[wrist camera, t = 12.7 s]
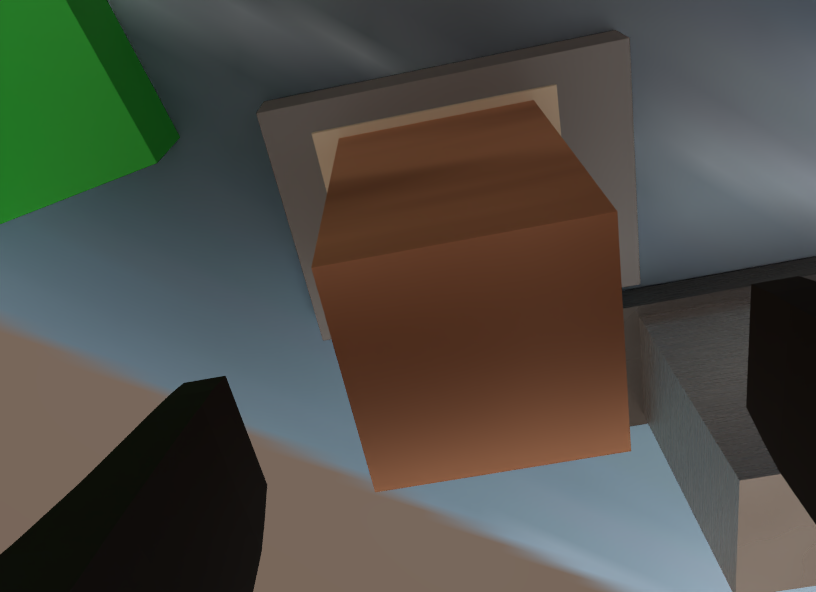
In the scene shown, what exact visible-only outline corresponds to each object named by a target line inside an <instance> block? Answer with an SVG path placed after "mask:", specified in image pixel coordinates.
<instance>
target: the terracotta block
mask: <svg viewBox="0 0 816 592" xmlns="http://www.w3.org/2000/svg"><path fill="white" fill-rule="evenodd" d="M311 269H312V272H313V276H314V279H315V283H316V286H317V290H318V293H319V297H320V300H321V304H322V307H323V311H324V314H325V318H326V321H327V325H328V328H329V332H330V335H331V339H332V342H333V346H334V349H335V353H336V356H337V360H338V363H339V367H340V370H341V374H342V377H343V381H344V384H345V388H346V391H347V395H348V398H349V402H350V405H351V409H352V412H353V416H354V419H355V423H356V426H357V430H358V433H359V437H360V440H361V444H362V447H363V451H364V454H365V458H366V461H367V465H368V468H369V472H370V475H371V479H372V482H373V486H374V489H375V492H380V491H387V490H393V489H399V488H405V487H411V486H417V485H424V484H430V483H436V482H442V481H448V480H455V479H461V478H467V477H473V476H479V475H485V474H492V473H498V472H504V471H510V470H516V469H523V468H529V467H535V466H541V465H547V464H554V463H560V462H566V461H572V460H578V459H584V458H591V457H597V456H603V455H609V454H615V453H622V452H628V451H631V443H630V425H629V407H628V390H627V372H626V354H625V336H624V319H623V301H622V283H621V265H620V248H619V230H618V212H617V210H616V209H615V207H614V206H613V205H612V203H611V202H610V201H609V200H608V198H607V197H606V196H605V194H604V193H603V192H602V190H601V189H600V188H599V186H598V185H597V184H596V182H595V181H594V180H593V178H592V177H591V176H590V174H589V173H588V172H587V170H586V169H585V168H584V166H583V165H582V164H581V162H580V161H579V160H578V158H577V157H576V156H575V154H574V153H573V152H572V150H571V149H570V148H569V146H568V145H567V144H566V142H565V141H564V140H563V138H562V137H561V136H560V134H559V133H558V132H557V130H556V129H555V128H554V126H553V125H552V124H551V122H550V121H549V120H548V118H547V117H546V116H545V114H544V113H543V112H542V110H541V109H540V108H539V106H538V105H537V104H536V102H535V101H534V100H531V101H526V102H521V103H516V104H510V105H505V106H500V107H495V108H490V109H485V110H480V111H475V112H470V113H465V114H460V115H455V116H450V117H444V118H439V119H434V120H429V121H424V122H419V123H414V124H409V125H404V126H399V127H394V128H389V129H383V130H378V131H373V132H368V133H363V134H358V135H353V136H348V137H343V138H339V140H338V145H337V149H336V154H335V159H334V163H333V168H332V173H331V178H330V182H329V187H328V192H327V196H326V201H325V206H324V210H323V215H322V220H321V225H320V229H319V234H318V239H317V243H316V248H315V253H314V257H313V262H312V267H311Z"/></svg>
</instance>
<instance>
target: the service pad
mask: <svg viewBox="0 0 816 592" xmlns="http://www.w3.org/2000/svg"><path fill="white" fill-rule="evenodd" d="M531 100H534V101H535V102H536V104H537V105H538V106H539V108H540V109H541V110H542V112H543V113H544V114H545V116H546V117H547V118H548V120H549V121H550V122H551V124H552V125H553V126H554V128H555V129H556V130H557V132H558V133H559V134H560V136H561V137H562V138H563V140H564V141H565V142H566V144H567V145H568V146H569V148H570V149H571V150H572V152H573V153H574V154H575V156H576V157H577V158H578V160H579V161H580V162H581V164H582V165H583V166H584V168H585V169H586V170H587V172H588V173H589V174H590V176H591V177H592V178H593V180H594V181H595V182H596V184H597V185H598V186H599V188H600V189H601V190H602V192H603V193H604V194H605V196H606V197H607V198H608V200H609V201H610V202H611V203H612V205H613V206H614V207H615V209H616V210H617V212H618V230H619V248H620V265H621V283H622V287H627V286H632V285H638V284H640V266H639V243H638V220H637V197H636V174H635V151H634V128H633V105H632V82H631V59H630V38H629V37H627V36H625V35H623V34H621V33H620V32H618V31H616V30H614V31H609V32H604V33H599V34H594V35H589V36H584V37H579V38H574V39H569V40H564V41H560V42H555V43H550V44H545V45H540V46H535V47H530V48H525V49H520V50H515V51H510V52H505V53H500V54H496V55H491V56H486V57H481V58H476V59H471V60H466V61H461V62H456V63H451V64H446V65H441V66H436V67H432V68H427V69H422V70H417V71H412V72H407V73H402V74H397V75H392V76H387V77H382V78H377V79H372V80H368V81H363V82H358V83H353V84H348V85H343V86H338V87H333V88H328V89H323V90H318V91H313V92H308V93H304V94H299V95H294V96H289V97H284V98H279V99H274V100H269V101H264V102H263V104H262V105H261V107H260V108H259V110H258V111H257V113H256V114H257V118H258V121H259V124H260V128H261V131H262V135H263V138H264V141H265V145H266V148H267V152H268V155H269V158H270V162H271V165H272V169H273V172H274V175H275V179H276V182H277V186H278V189H279V192H280V196H281V199H282V203H283V206H284V209H285V213H286V216H287V220H288V223H289V226H290V230H291V233H292V237H293V240H294V243H295V247H296V250H297V254H298V257H299V260H300V264H301V267H302V271H303V274H304V277H305V281H306V284H307V288H308V291H309V294H310V298H311V301H312V305H313V308H314V311H315V315H316V318H317V322H318V325H319V328H320V332H321V335H322V339H323V341H324V340H330V339H331V335H330V332H329V328H328V325H327V321H326V318H325V314H324V311H323V307H322V304H321V300H320V297H319V293H318V290H317V286H316V283H315V279H314V276H313V272H312V269H311V267H312V262H313V257H314V253H315V248H316V243H317V239H318V234H319V229H320V225H321V220H322V215H323V210H324V206H325V201H326V196H327V192H328V187H329V182H330V178H331V173H332V168H333V163H334V159H335V154H336V149H337V145H338V140H339V138H343V137H348V136H353V135H358V134H363V133H368V132H373V131H378V130H383V129H389V128H394V127H399V126H404V125H409V124H414V123H419V122H424V121H429V120H434V119H439V118H444V117H450V116H455V115H460V114H465V113H470V112H475V111H480V110H485V109H490V108H495V107H500V106H505V105H510V104H516V103H521V102H526V101H531Z"/></svg>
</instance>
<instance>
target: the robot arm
mask: <svg viewBox="0 0 816 592" xmlns="http://www.w3.org/2000/svg"><path fill="white" fill-rule="evenodd" d="M746 408H747V410H748V412H749V414H750V416H751V418H752V420H753V422H754V424H755V426H756V428H757V430H758V432H759V434H760V436H761V438H762V440H763V442H764V444H765V446H766V448H767V450H768V452H769V454H770V455H771V457H772V459H773V461H774V463H775V465H776V467H777V469H778V470H779V472H780V473H781V475H782V476H783V478H784V479H785V481H786V482H787V484H788V485H789V487H790V488H791V490H792V491H793V492H794V494H795V495H796V497H797V498H798V500H799V501H800V503H801V504H802V505H803V507H804V508H805V510H806V511H807V513H808V514H809V516H810V517H811V518H812V520H813V521H814V523H815V524H816V281H814V280H810V279H807V278H804V277H800V276H796V277H790V278H784V279H778V280H773V281H767V282H761V283H755V284H751V299H750V323H749V348H748V372H747V397H746ZM266 492H267V483H266V481H265V478H264V475H263V473H262V470H261V467H260V465H259V462H258V460H257V457H256V454H255V452H254V449H253V447H252V444H251V441H250V439H249V436H248V434H247V431H246V428H245V426H244V423H243V420H242V418H241V415H240V413H239V410H238V407H237V405H236V402H235V399H234V397H233V394H232V392H231V389H230V386H229V384H228V381H227V379H226V376H221V377H216V378H210V379H204V380H198V381H193V382H187V383H183V384H182V385H181V386H180V387H178V388H177V389H176V390H175V391H174V392H172V393H171V394H170V395H169V396H168V397H167V398H166V399H165V400H164V401H163V402H162V403H161V404H160V405H159V406H158V407H157V408H156V409H154V411H152V412H151V413H150V414H149V415H148V416H147V417H146V418H145V419H144V420H143V421H142V422H141V423H140V424H139V425H138V426H137V427H136V428H135V429H134V430H133V431H132V432H131V433H130V434H129V435H128V436H127V437H126V438H125V439H124V440H123V441H122V442H121V443H120V444H119V445H118V446H117V447H116V448H115V449H114V450H113V451H112V452H111V453H110V454H109V455H108V456H107V457H106V458H105V459H104V460H103V461H102V462H101V463H100V464H99V465H98V466H97V467H96V468H95V469H94V470H93V471H92V472H91V473H90V474H88V475H87V477H86V478H84V479H83V480H82V481H81V482H80V483H79V484H78V485H77V486H76V487H75V488H74V489H73V490H72V491H70V492H69V493H68V494H67V495H66V496H65V497H64V498H63V499H62V500H61V501H59V502H58V503H57V504H56V505H55V506H54V507H53V508H52V509H51V510H50V511H49V512H47V513H46V514H45V515H44V516H43V517H42V518H41V519H40V520H39V521H38V522H37V523H36V524H34V525H33V526H32V527H31V528H30V529H29V530H28V531H27V532H26V533H25V534H23V535H22V536H21V537H20V538H19V539H18V540H17V541H16V542H14V543H13V544H12V545H11V546H10V547H9V548H8V549H6V550H5V551H4V552H3V553H2V554H0V592H253V589H254V584H255V580H256V575H257V571H258V566H259V561H260V556H261V551H262V542H263V531H264V521H265V507H266Z"/></svg>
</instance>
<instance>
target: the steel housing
mask: <svg viewBox="0 0 816 592" xmlns="http://www.w3.org/2000/svg"><path fill="white" fill-rule="evenodd" d="M796 276H800V277H804V278H807V279H810V280H814V281H816V257H812V258H806V259H801V260H795V261H790V262H784V263H778V264H773V265H767V266H761V267H756V268H750V269H745V270H739V271H733V272H728V273H722V274H716V275H711V276H705V277H700V278H694V279H688V280H683V281H677V282H672V283H666V284H660V285H655V286H649V287H643V288H638V289H632V290H627V291H622V301H623V319H624V336H625V354H626V372H627V390H628V407H629V425H630V426H635V425H641V424H647V423H648V424H649V426H650V428H651V430H652V432H653V434H654V436H655V438H656V440H657V442H658V444H659V446H660V448H661V450H662V452H663V454H664V456H665V458H666V460H667V462H668V464H669V466H670V468H671V470H672V472H673V474H674V476H675V478H676V480H677V482H678V484H679V486H680V488H681V490H682V492H683V494H684V496H685V498H686V500H687V502H688V504H689V506H690V508H691V510H692V512H693V514H694V516H695V518H696V520H697V522H698V524H699V526H700V528H701V530H702V532H703V534H704V536H705V538H706V540H707V542H708V544H709V546H710V548H711V550H712V552H713V554H714V556H715V558H716V560H717V562H718V564H719V566H720V568H721V570H722V572H723V574H724V576H725V578H726V580H727V582H728V584H729V586H730V588H731V590H732V592H775V591H782V590H789V589H796V588H802V587H809V586H816V524H815V523H814V521H813V520H812V518H811V517H810V516H809V514H808V513H807V511H806V510H805V508H804V507H803V505H802V504H801V503H800V501H799V500H798V498H797V497H796V495H795V494H794V492H793V491H792V490H791V488H790V487H789V485H788V484H787V482H786V481H785V479H784V478H783V476H782V475H781V473H780V472H779V470H778V469H777V467H776V465H775V463H774V461H773V459H772V457H771V455H770V454H769V452H768V450H767V448H766V446H765V444H764V442H763V440H762V438H761V436H760V434H759V432H758V430H757V428H756V426H755V424H754V422H753V420H752V418H751V416H750V414H749V412H748V410H747V408H746V397H747V372H748V348H749V323H750V299H751V284H755V283H761V282H767V281H773V280H778V279H784V278H790V277H796Z"/></svg>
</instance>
